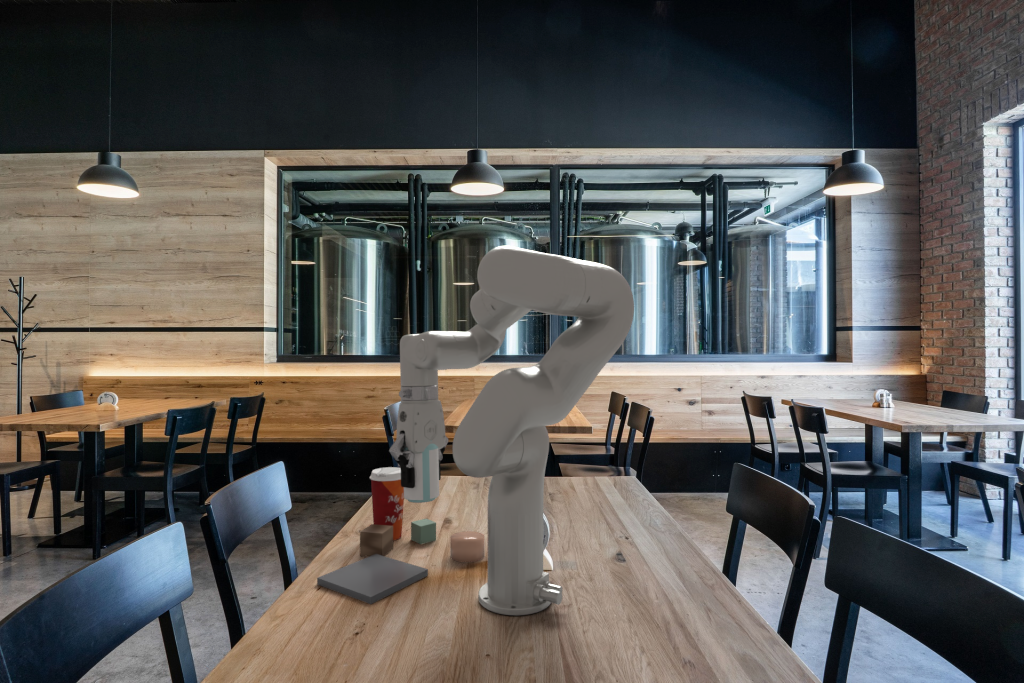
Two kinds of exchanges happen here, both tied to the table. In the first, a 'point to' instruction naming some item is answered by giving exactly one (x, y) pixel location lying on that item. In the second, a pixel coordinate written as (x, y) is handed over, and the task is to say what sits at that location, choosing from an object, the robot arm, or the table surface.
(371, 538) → the walnut block
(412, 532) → the green block
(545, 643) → the table surface
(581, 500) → the table surface
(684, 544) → the table surface
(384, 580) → the slate board
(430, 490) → the can
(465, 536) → the peach smooth rounded part
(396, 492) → the coffee cup
